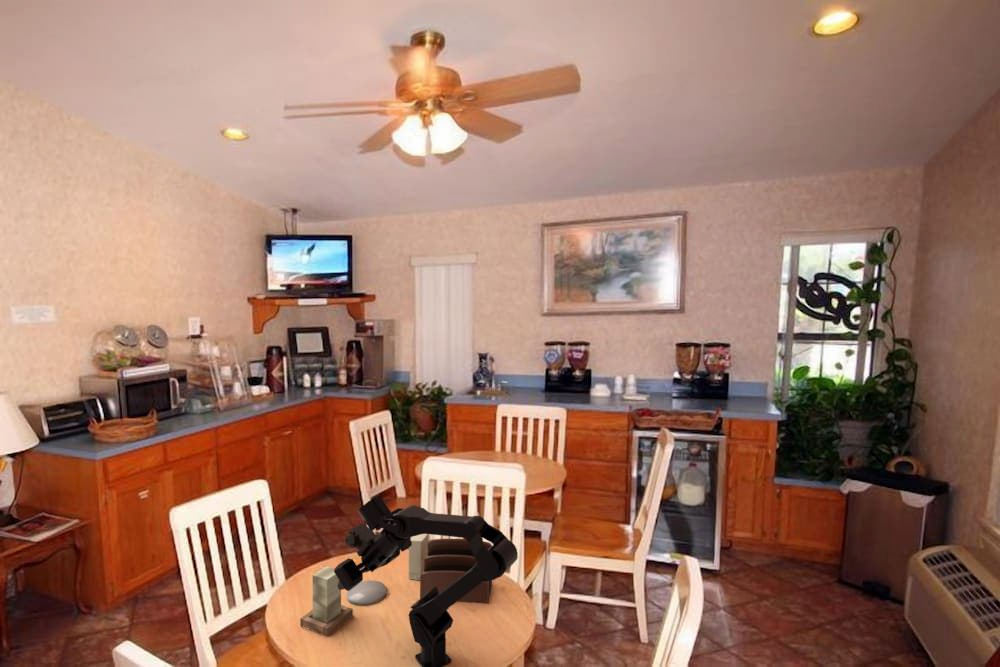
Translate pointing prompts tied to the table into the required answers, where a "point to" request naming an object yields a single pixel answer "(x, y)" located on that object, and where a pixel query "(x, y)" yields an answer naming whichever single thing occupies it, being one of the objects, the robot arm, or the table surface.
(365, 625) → the table surface
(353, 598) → the coaster
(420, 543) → the skincare box
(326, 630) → the pocket block
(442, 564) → the letter holder
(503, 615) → the table surface
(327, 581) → the tall khaki square post
